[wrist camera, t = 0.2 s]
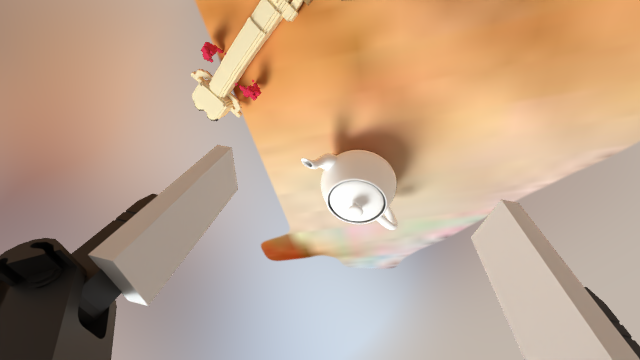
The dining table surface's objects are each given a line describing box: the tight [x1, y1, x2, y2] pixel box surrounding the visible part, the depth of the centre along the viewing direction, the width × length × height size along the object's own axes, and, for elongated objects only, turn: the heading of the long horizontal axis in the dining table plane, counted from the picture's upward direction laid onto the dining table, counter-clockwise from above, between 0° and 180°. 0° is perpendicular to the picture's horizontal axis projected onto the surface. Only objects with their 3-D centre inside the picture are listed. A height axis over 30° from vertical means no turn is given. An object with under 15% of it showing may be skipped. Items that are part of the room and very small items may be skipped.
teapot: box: [301, 150, 397, 230], centre depth 40 cm, size 22×14×11 cm, turn 50°
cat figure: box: [191, 0, 312, 121], centre depth 32 cm, size 10×9×25 cm
